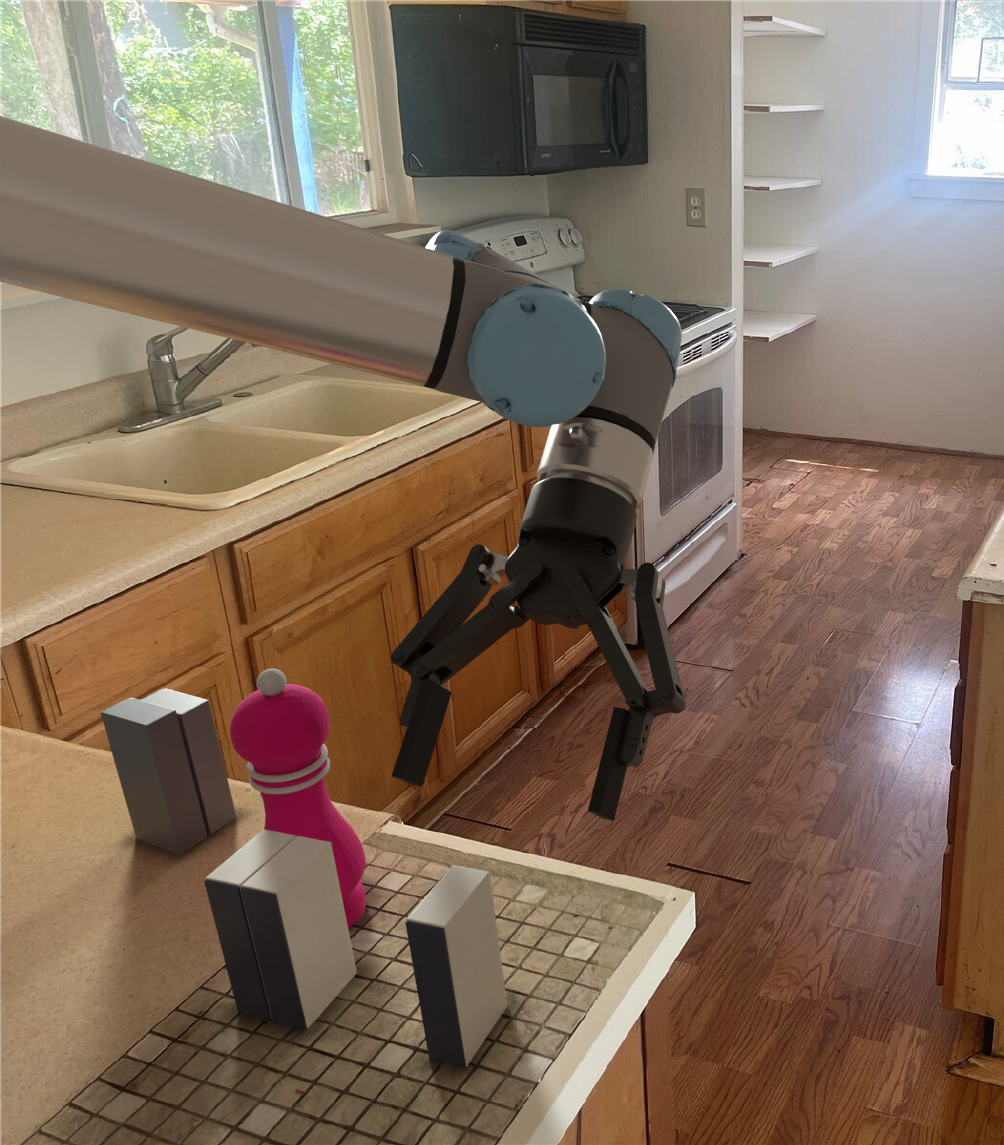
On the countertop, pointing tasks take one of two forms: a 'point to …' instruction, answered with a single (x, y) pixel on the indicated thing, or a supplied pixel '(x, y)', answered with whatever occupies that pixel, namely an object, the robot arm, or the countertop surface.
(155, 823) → the grey books
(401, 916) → the countertop surface
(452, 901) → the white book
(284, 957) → the grey tall block
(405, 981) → the countertop surface
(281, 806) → the pepper mill
